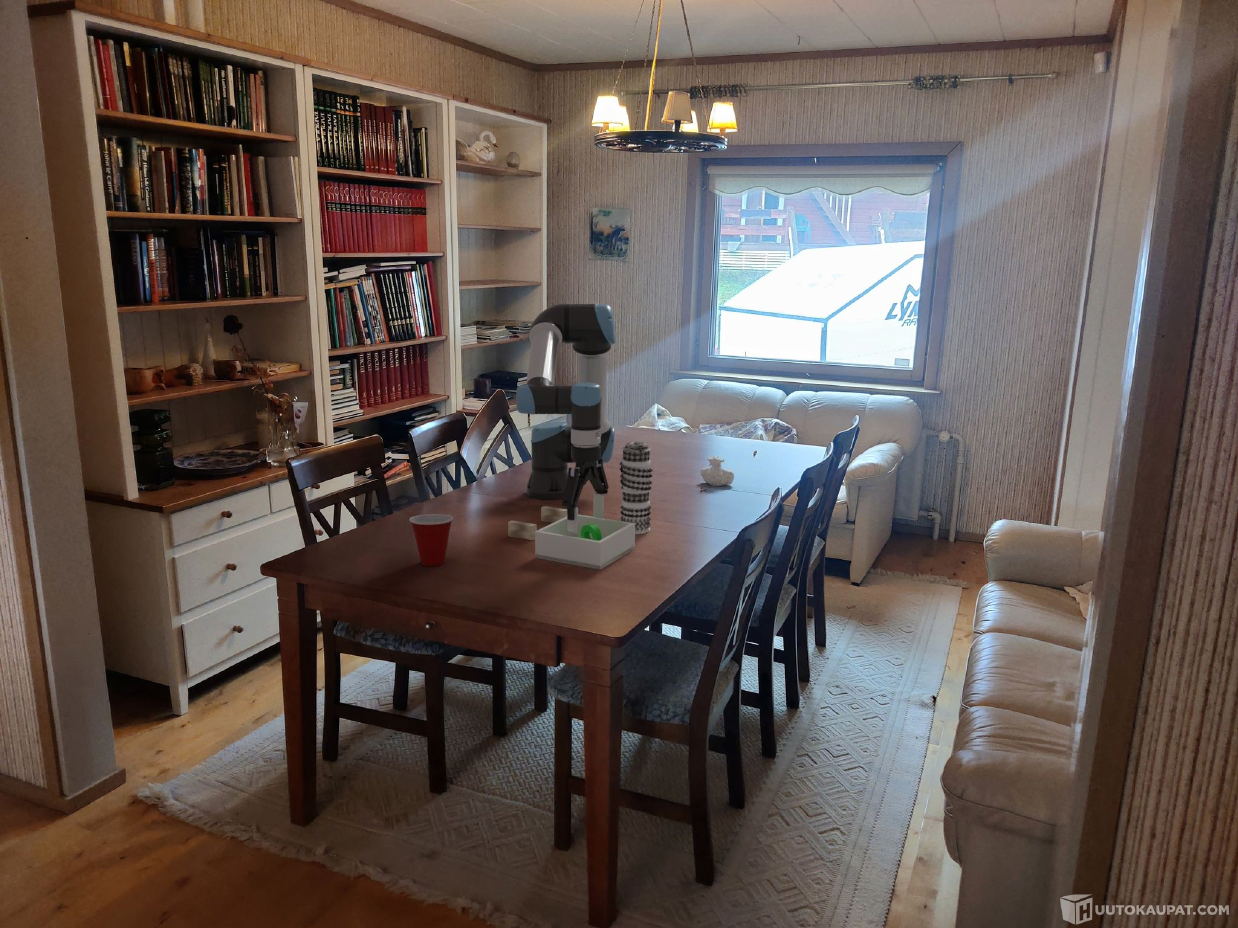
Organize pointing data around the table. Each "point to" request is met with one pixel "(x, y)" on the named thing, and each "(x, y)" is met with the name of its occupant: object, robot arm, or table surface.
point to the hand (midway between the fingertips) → (585, 524)
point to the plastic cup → (432, 537)
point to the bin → (585, 542)
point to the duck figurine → (717, 473)
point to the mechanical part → (593, 530)
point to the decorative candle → (636, 486)
